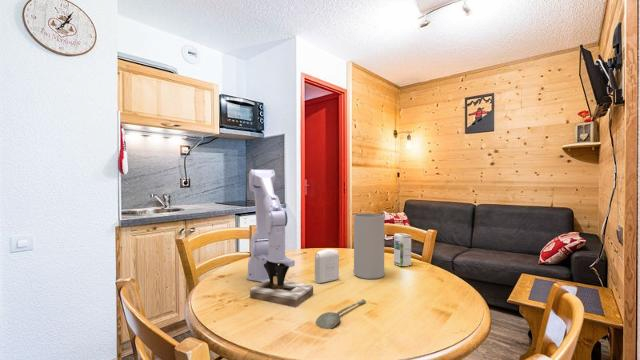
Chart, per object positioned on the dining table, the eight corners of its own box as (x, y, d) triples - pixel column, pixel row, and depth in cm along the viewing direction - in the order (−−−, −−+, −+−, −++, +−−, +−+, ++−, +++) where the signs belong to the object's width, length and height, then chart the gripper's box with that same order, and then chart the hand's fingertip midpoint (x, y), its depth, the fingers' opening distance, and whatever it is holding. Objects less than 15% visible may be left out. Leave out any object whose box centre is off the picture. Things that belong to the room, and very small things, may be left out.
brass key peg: (267, 293, 107) (267, 276, 107) (277, 288, 111) (277, 272, 111) (277, 296, 105) (277, 278, 104) (287, 291, 108) (286, 274, 108)
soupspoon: (310, 327, 86) (328, 337, 82) (310, 316, 86) (328, 324, 82) (356, 301, 103) (373, 307, 98) (356, 291, 103) (373, 297, 98)
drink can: (393, 264, 145) (393, 233, 144) (403, 263, 147) (403, 232, 147) (401, 267, 139) (401, 235, 139) (411, 266, 142) (411, 234, 142)
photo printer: (334, 276, 127) (334, 246, 127) (340, 279, 123) (340, 248, 123) (313, 281, 121) (312, 250, 121) (319, 284, 118) (319, 252, 118)
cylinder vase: (382, 270, 135) (382, 213, 135) (385, 280, 123) (385, 217, 122) (353, 269, 136) (353, 213, 136) (354, 279, 124) (354, 216, 124)
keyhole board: (250, 297, 105) (250, 288, 105) (270, 286, 116) (270, 278, 116) (296, 307, 97) (296, 297, 97) (313, 294, 108) (313, 285, 108)
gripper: (300, 245, 107) (300, 284, 107) (269, 240, 115) (270, 277, 115) (286, 249, 101) (286, 291, 101) (255, 244, 109) (255, 282, 109)
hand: (276, 284), depth 108 cm, fingers closed on brass key peg, 3 cm apart
